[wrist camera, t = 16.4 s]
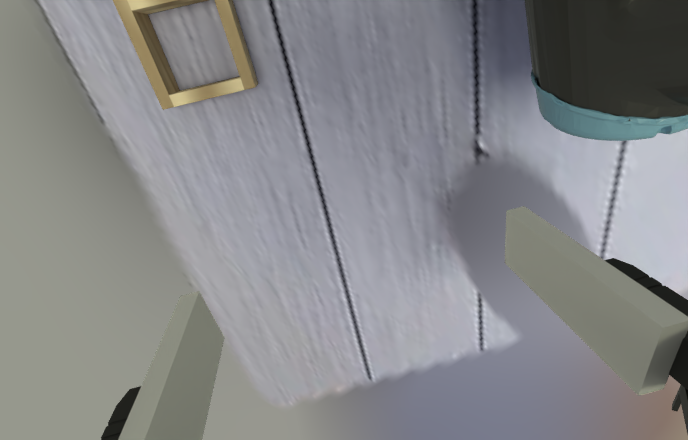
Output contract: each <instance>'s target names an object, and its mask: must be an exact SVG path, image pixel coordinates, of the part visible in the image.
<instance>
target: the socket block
mask: <svg viewBox="0 0 688 440" xmlns="http://www.w3.org/2000/svg"><path fill="white" fill-rule="evenodd" d="M203 1H208V0H113V2H114V4H115V6H116V8H117V11H118V13H119V15H120V17H121V19H122V21H123V24H124V26H125V28H126V30H127V32H128V35H129V37H130V39H131V41H132V43H133V46H134V48H135V50H136V52H137V54H138V56H139V59H140V61H141V63H142V65H143V67H144V70H145V72H146V74H147V76H148V78H149V80H150V83H151V85H152V87H153V89H154V91H155V94H156V96H157V98H158V100H159V102H160V105H161V107H162V109H168V108H172V107H176V106H180V105H184V104H188V103H192V102H196V101H201V100H205V99H209V98H213V97H217V96H221V95H225V94H230V93H234V92H238V91H242V90H246V89H250V88H254V87H256V86H257V85H258V81H257V78H256V74H255V71H254V68H253V65H252V61H251V58H250V55H249V52H248V49H247V45H246V42H245V39H244V36H243V33H242V29H241V26H240V23H239V20H238V16H237V13H236V10H235V7H234V4H233V0H215V3H216V6H217V9H218V12H219V15H220V18H221V21H222V24H223V27H224V30H225V33H226V36H227V39H228V42H229V45H230V48H231V51H232V54H233V57H234V60H235V63H236V66H237V69H238V72H239V75H240V76H239V77H235V78H231V79H227V80H223V81H218V82H214V83H210V84H206V85H202V86H198V87H194V88H189V89H185V90H181V91H180V90H179V88H178V85H177V83H176V80H175V78H174V76H173V73H172V71H171V69H170V66H169V64H168V61H167V59H166V57H165V54H164V52H163V50H162V47H161V45H160V43H159V40H158V38H157V35H156V33H155V31H154V28H153V26H152V24H151V21H150V19H149V16H148V14H152V13H156V12H160V11H165V10H169V9H173V8H178V7H182V6H186V5H190V4H195V3H199V2H203Z"/></svg>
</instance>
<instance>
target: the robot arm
mask: <svg viewBox="0 0 688 440" xmlns="http://www.w3.org/2000/svg"><path fill="white" fill-rule="evenodd" d="M525 8H526V17H527V26H528V35H529V44H530V53H531V62H532V72H531V79H532V83H533V85H534V86H535V88H536V93H537V98H538V104H539V109H540V112H541V114H542V116H543V117H544V119H545V120H547V121H548V122H550V124H552V126H553V127H555V128H556V129H558V130H560V131H563V132H565V133H568V134H570V135H574V136H578V137H582V138H588V139H596V140H610V141H625V140H639V139H647V138H653V137H654V136H656V134H657V133H664V134H672V133H676V132H679V131H682V130H685V129H687V128H688V0H525ZM506 212H507V213H506V241H505V242H506V243H505V264H507V265H508V267H509V268H510V269H511V270H512V271H513V272H515V274H516V275H517V276H518V277H520V279H522V280H523V282H524V283H526V285H527V286H529V288H530V289H532V291H534V292H535V293H536V294H537V295H538V296H539V297H540V298H541V299H542V300H543V301H544V302H545V303H546V304H547V305H548V306H549V307H550V308H551V309H552V310H553V311H554V312H555V313H556V314H557V315H558V316H559V317H560V318H561V319H562V320H563V321H564V322H565V323H566V324H567V325H568V326H569V327H570V328H571V329H572V330H573V331H574V332H575V333H576V334H577V335H578V336H579V337H580V338H581V339H582V340H583V341H584V342H585V343H586V344H587V345H588V346H589V347H590V348H591V349H592V350H593V351H594V352H595V353H596V354H597V355H598V356H599V357H600V358H601V359H602V360H603V361H604V362H605V363H606V364H607V365H608V366H609V367H610V368H611V369H612V370H613V371H614V372H615V373H616V374H617V375H618V376H619V377H620V378H621V379H622V380H623V381H624V382H625V383H626V384H627V385H628V386H629V387H630V388H631V389H632V390H633V391H634V392H635V393H636V394H637V395H638V396H640V395H643V394H646V393H650V392H654V391H657V390H661V389H664V386H665V384H666V382H667V379H668V377H669V375H671V376H672V377H673V378H674V379H675V380H676V381H678V382H679V383H680V384H681V386H680V388H679V391H678V393H677V395H676V397H675V399H674V401H673V404H672V410H674V411H678V409H679V407H680V404H681V405H682V410H683V414H684V419H685V424H686V429H687V433H688V300H687V299H685V298H684V297H682V296H680V295H679V294H677V293H676V292H674V291H673V290H671V289H669V288H668V287H666V286H662V284H661V283H660V282H658V281H657V280H655V279H654V278H652V277H651V278H650V277H649V276H648V275H647V274H646V273H644V272H642V271H641V270H639V269H638V268H636V267H635V266H633V265H631V264H628V263H625V262H622V261H620V260H617V259H614V258H612V259H608V260H605V261H604V260H603V259H601V258H600V257H599V256H597V255H596V254H594V253H593V252H591V251H590V250H588V249H587V248H585V247H584V246H582V245H581V244H579V243H578V242H576V241H575V240H573V239H572V238H570V237H569V236H567V235H566V234H564V233H563V232H561V231H560V230H558V229H557V228H555V227H554V226H552V225H551V224H549V223H548V222H546V221H545V220H543V219H542V218H540V217H539V216H538V215H536V214H535V213H533V212H531V211H530V210H529V209H527V208H526V207H524V206H523V207H519V208H515V209H511V210H508V211H506ZM223 342H224V336H223V334H222V332H221V330H220V328H219V327H218V325H217V323H216V321H215V319H214V318H213V316H212V314H211V312H210V310H209V308H208V307H207V305H206V303H205V301H204V299H203V297H202V296H201V294H200V292H199V291H197V292H194V293H190V294H186V295H182V296H180V298H179V301H178V303H177V305H176V307H175V310H174V312H173V314H172V317H171V319H170V321H169V324H168V326H167V328H166V331H165V333H164V335H163V337H162V340H161V342H160V345H159V347H158V349H157V351H156V354H155V356H154V358H153V360H152V363H151V365H150V367H149V370H148V372H147V374H146V377H145V379H144V381H143V384H142V386H140V387H137V388H133V389H130V390H129V391H128V392H127V393H126V395H125V396H124V397H123V398H122V400H121V401H120V402H119V403H118V404H117V406H116V408H115V410H114V412H113V414H112V416H111V418H110V420H109V422H108V426H107V427H106V429H105V431H104V433H103V435H102V437H101V439H102V440H202V438H203V433H204V428H205V424H206V420H207V415H208V410H209V406H210V401H211V397H212V392H213V388H214V383H215V379H216V374H217V369H218V364H219V360H220V356H221V351H222V347H223Z"/></svg>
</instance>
